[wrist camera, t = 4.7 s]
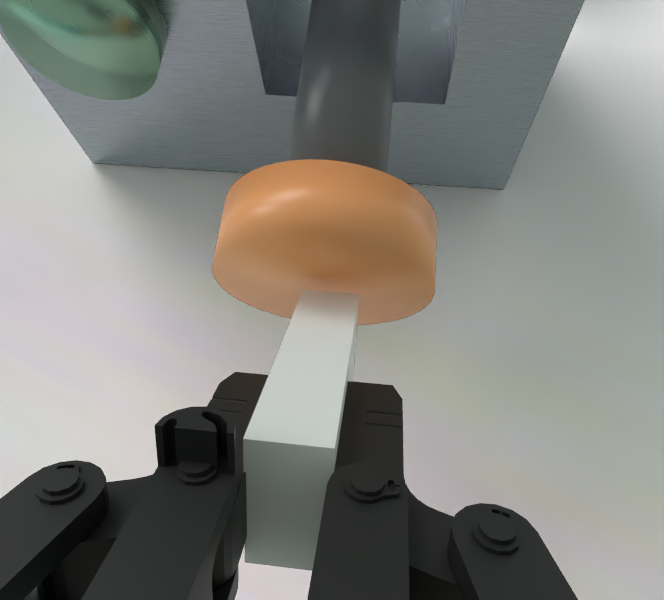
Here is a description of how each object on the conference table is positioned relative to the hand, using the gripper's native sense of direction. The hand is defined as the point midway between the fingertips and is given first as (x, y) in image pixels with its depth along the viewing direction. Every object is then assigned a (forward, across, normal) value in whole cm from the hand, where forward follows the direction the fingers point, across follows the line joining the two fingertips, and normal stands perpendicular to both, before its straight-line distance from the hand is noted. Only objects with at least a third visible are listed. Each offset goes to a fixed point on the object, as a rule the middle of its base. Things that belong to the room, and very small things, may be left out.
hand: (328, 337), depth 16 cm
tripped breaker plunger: (+7, 0, +4) cm, 8 cm away
